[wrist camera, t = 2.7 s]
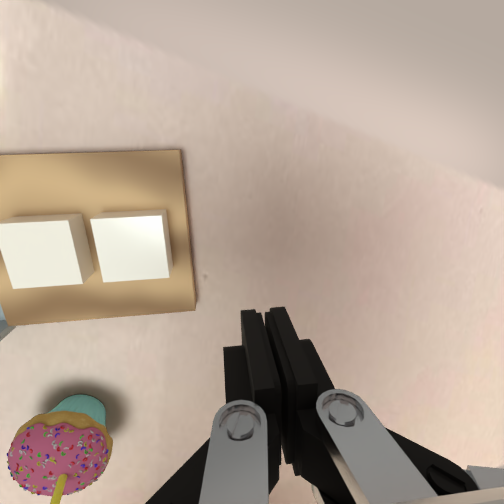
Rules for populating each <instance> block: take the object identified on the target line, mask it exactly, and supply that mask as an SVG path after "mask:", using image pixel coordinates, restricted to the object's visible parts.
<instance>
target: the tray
mask: <svg viewBox="0 0 504 504" xmlns="http://www.w3.org/2000/svg"><path fill="white" fill-rule="evenodd" d="M15 327H16V326H8V324H7V322H6V319H5V316H4V313H3V310H2V307H1V304H0V341H1V340H2V339H3V338H4V337H5V336H7V335H8V334H9V333H10V332H11V331H12V330H13V329H14V328H15Z"/></svg>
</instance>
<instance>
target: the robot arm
mask: <svg viewBox="0 0 504 504" xmlns="http://www.w3.org/2000/svg"><path fill="white" fill-rule="evenodd" d="M241 331H242V346H232V347H223V351H224V372H225V393H226V404H225V405H224V406H223V407H221V408H220V409H219V411H218V412H217V413H216V415H215V418H214V420H213V425H212V431H211V437H210V438H209V439H208V440H207V441H206V442H205V443H204V444H203V445H202V446H201V447H200V448H199V449H198V450H197V451H196V452H195V453H194V454H193V456H192V457H191V458H190V459H189V460H188V461H187V462H186V463H185V464H184V465H183V466H182V467H181V468H180V469H179V470H178V471H177V472H176V473H175V474H174V475H173V476H172V477H171V478H170V479H169V480H168V481H167V482H166V483H165V484H164V485H163V486H162V487H161V488H160V489H159V490H158V491H157V492H156V493H155V494H154V495H153V496H152V497H151V498H150V499H149V500H148V501H147V502H146V503H145V504H269V498H268V495H269V494H270V492H271V491H272V489H273V488H274V486H275V485H276V483H277V482H278V480H279V465H281V445H282V449H283V454H284V458H285V462H286V464H292V466H293V470H294V474H295V476H298V475H301V477H303V478H304V479H305V480H307V481H308V482H310V483H311V484H312V491H313V494H314V497H315V499H316V502H317V504H504V469H499V468H489V467H479V466H469V465H468V466H467V469H466V470H463V469H462V468H461V467H459V466H458V465H456V464H455V463H453V462H451V461H450V460H448V459H446V458H444V457H442V456H440V455H438V454H436V453H434V452H432V451H430V450H428V449H426V448H424V447H422V446H421V445H419V444H417V443H415V442H413V441H411V440H409V439H407V438H405V437H403V436H401V435H399V434H397V433H395V432H393V431H391V430H389V429H387V428H385V427H384V426H383V425H382V423H381V422H380V421H379V420H378V418H377V417H376V416H375V414H374V413H373V412H372V411H371V409H370V408H369V407H368V406H367V404H366V403H365V402H364V401H363V400H362V399H361V398H360V397H359V396H357V395H355V394H354V393H352V392H349V391H346V390H341V389H335V388H334V386H333V384H332V382H331V380H330V378H329V376H328V374H327V372H326V370H325V368H324V366H323V364H322V361H321V359H320V357H319V355H318V353H317V351H316V349H315V347H314V345H313V343H312V342H311V340H310V339H304V340H299V338H298V336H297V334H296V332H295V329H294V327H293V325H292V322H291V320H290V318H289V315H288V313H287V311H286V309H285V307H276V308H270V312H265V325H264V322H263V318H262V315H261V313H256V311H255V309H252V310H241Z"/></svg>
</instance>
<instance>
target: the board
mask: <svg viewBox="0 0 504 504" xmlns="http://www.w3.org/2000/svg"><path fill="white" fill-rule="evenodd" d="M159 209H166V212H167V220H168V228H169V237H170V245H171V253H172V261H173V268H172V271H171V274H170V277H169V278H159V279H145V280H131V281H117V282H103V278H102V274H101V269H100V264H99V259H98V255H97V250H96V245H95V240H94V236H93V231H92V226H91V221H90V219H91V218H93V217H95V216H96V215H98V214H100V213H101V212H118V211H139V210H159ZM78 213H82V217H83V221H84V226H85V231H86V235H87V240H88V244H89V249H90V253H91V258H92V263H93V267H94V273H93V274H92V275H91V276H90V277H89V278H88V279H87V280H86V281H85V282H84V283H83V284H75V285H61V286H48V287H34V288H20V289H13V287H12V284H11V281H10V278H9V275H8V272H7V269H6V265H5V262H4V259H3V256H2V253H1V250H0V304H1V307H2V310H3V313H4V316H5V319H6V322H7V324H8V326H17V325H29V324H41V323H53V322H65V321H77V320H89V319H101V318H113V317H125V316H137V315H149V314H161V313H172V312H184V311H195V309H196V294H195V284H194V274H193V264H192V254H191V244H190V234H189V224H188V214H187V204H186V194H185V184H184V174H183V164H182V153H181V150H154V151H120V152H85V153H51V154H17V155H0V221H3V220H5V219H8V218H11V217H16V216H37V215H57V214H78Z"/></svg>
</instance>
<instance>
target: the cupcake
mask: <svg viewBox="0 0 504 504" xmlns="http://www.w3.org/2000/svg"><path fill="white" fill-rule="evenodd" d="M105 418H106V411H105V407H104V405H103V404H102V403H101V402H100V401H99V400H98V399H96V398H94V397H92V396H89V395H73V396H70V397H67V398H65V399H64V400H63V401H61V402H60V403H59V404H58V405H57V406H56V407H55V408H54V409H53V410H51V411H50V412H48V413H46V414H39V415H36V416H35V417H33V418H32V419H31V420H29V421H28V422H27V423H25V424H24V425H23V426H21V427H20V428H19V430H18V431H17V433H16V435H15V437H14V440H13V442H12V443H11V447H10V449H9V452H8V453H7V456H8V461H7V463H8V464H9V466H10V467H9V466H8V469H9V470H11V472H10V474H11V477H13V480H16V481H17V482H18V483H19V484H20V485H19V486H20V487H24V488H23V489H24V490H25V489H26V490H28V491H30V492H31V493H32V494H35V493H36V494H37V495H47V496H52V500H51V503H50V504H60V500H61V497H62V495H66V494H67V495H69V494H72V493H75V492H79V491H81V490H83V489H85V487H87V486H88V485H91V484H92V482H95V481H97V480H98V479H97V478H98V477H99V476H100V475H101V474H102V473H103V472H104V470H105V468H106V466H107V464H108V462H109V459H110V456H111V452H112V446H113V440H112V438H111V437H110V436H109V434H108V432H107V429H106V427H105ZM26 490H25V491H26Z"/></svg>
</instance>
